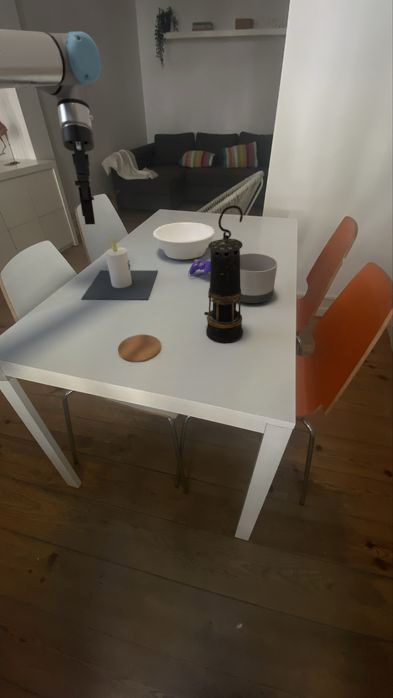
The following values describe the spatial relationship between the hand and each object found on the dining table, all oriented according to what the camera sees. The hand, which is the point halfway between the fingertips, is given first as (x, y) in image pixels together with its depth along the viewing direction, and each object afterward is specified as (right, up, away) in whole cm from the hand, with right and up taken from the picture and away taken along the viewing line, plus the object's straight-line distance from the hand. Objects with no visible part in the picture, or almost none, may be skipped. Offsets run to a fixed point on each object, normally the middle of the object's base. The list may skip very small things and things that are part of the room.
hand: (89, 220), depth 85 cm
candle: (+5, -14, +17) cm, 22 cm away
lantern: (+36, -30, -5) cm, 47 cm away
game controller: (+31, -10, +21) cm, 39 cm away
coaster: (+15, -34, -10) cm, 39 cm away
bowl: (+24, +2, +36) cm, 44 cm away
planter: (+44, -19, +9) cm, 49 cm away
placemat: (+5, -14, +17) cm, 22 cm away
